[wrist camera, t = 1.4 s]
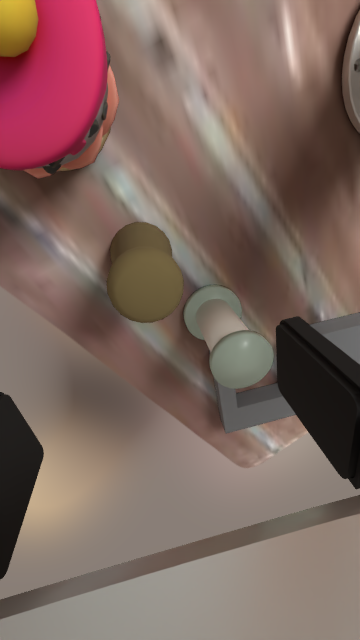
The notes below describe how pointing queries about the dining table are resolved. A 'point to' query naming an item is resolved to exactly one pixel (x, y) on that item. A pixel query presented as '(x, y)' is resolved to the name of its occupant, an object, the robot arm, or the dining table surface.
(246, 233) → the dining table surface
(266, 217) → the dining table surface
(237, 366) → the bobbin post
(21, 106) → the cake
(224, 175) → the dining table surface
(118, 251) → the cork
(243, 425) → the gray block
